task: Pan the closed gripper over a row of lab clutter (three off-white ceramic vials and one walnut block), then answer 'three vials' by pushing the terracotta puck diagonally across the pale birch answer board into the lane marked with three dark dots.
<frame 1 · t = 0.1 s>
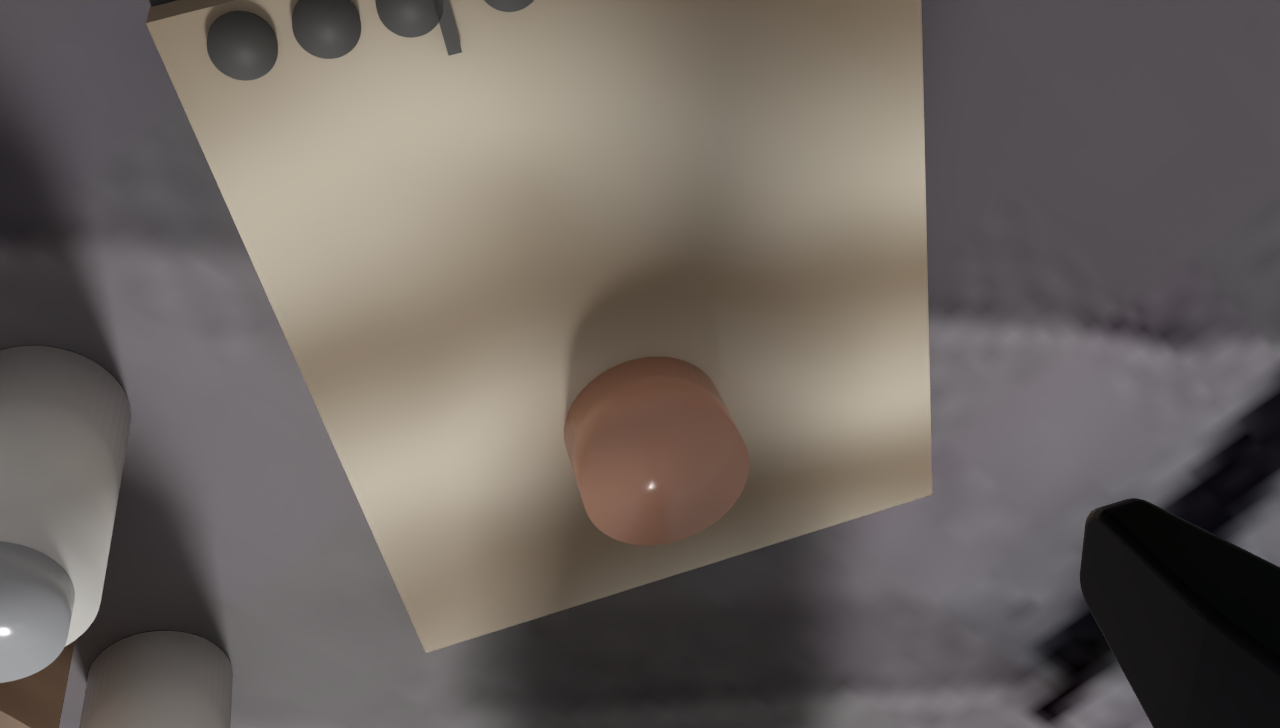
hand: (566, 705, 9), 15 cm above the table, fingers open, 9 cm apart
vial 1: (161, 678, 28), on the table
vial 2: (42, 413, 23), on the table
answer board: (619, 292, 25), on the table
puck: (643, 423, 26), point 1 cm above the table, touching answer board
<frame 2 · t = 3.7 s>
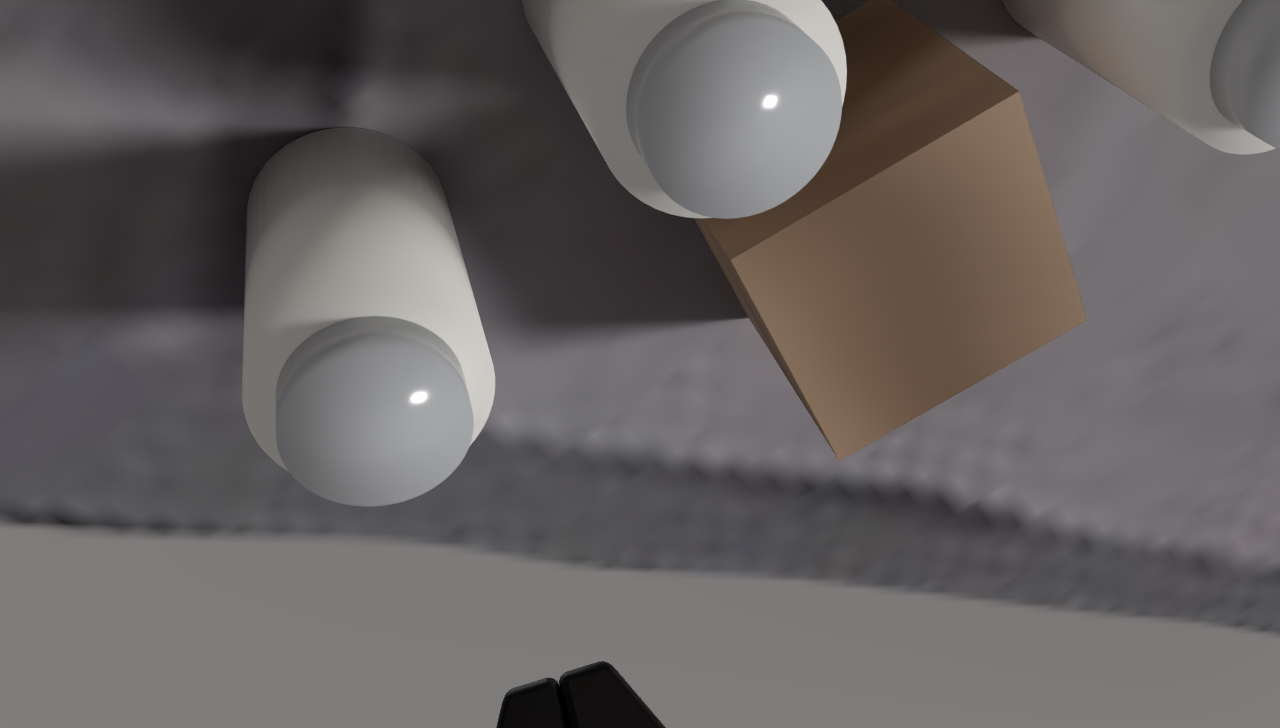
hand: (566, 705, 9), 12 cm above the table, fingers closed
vial 3: (349, 219, 19), on the table
walnut block: (808, 165, 21), on the table
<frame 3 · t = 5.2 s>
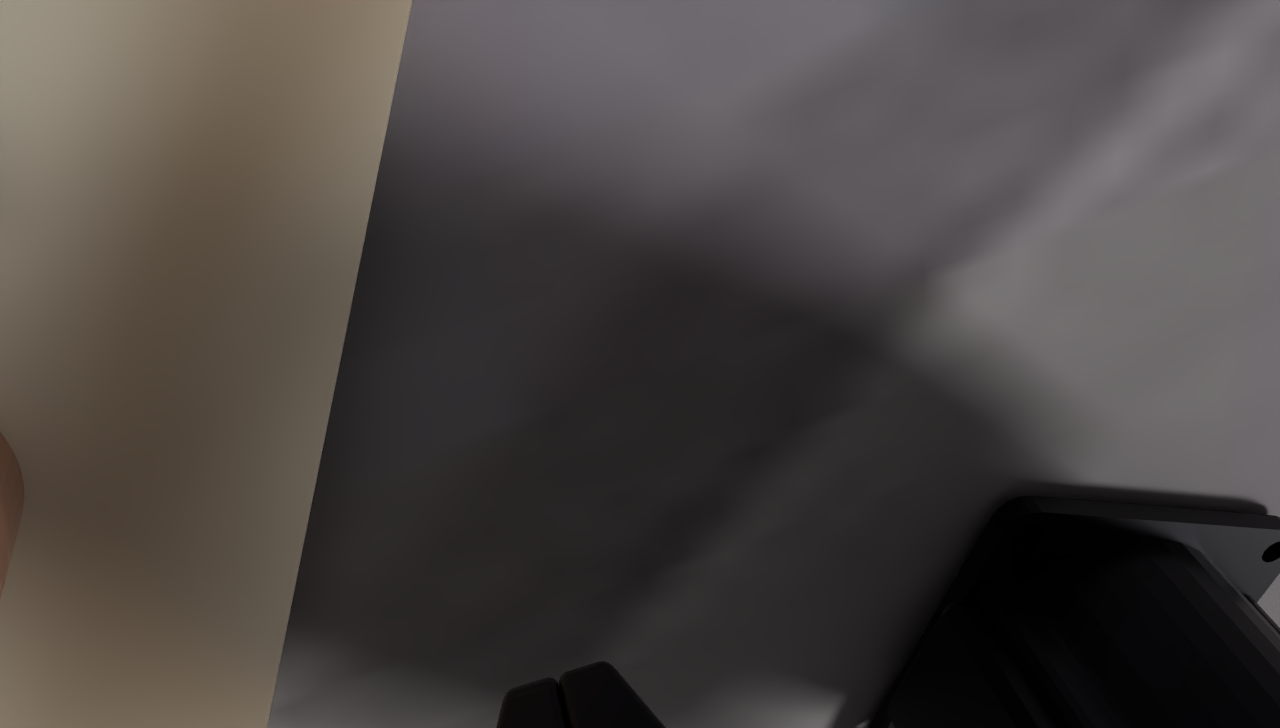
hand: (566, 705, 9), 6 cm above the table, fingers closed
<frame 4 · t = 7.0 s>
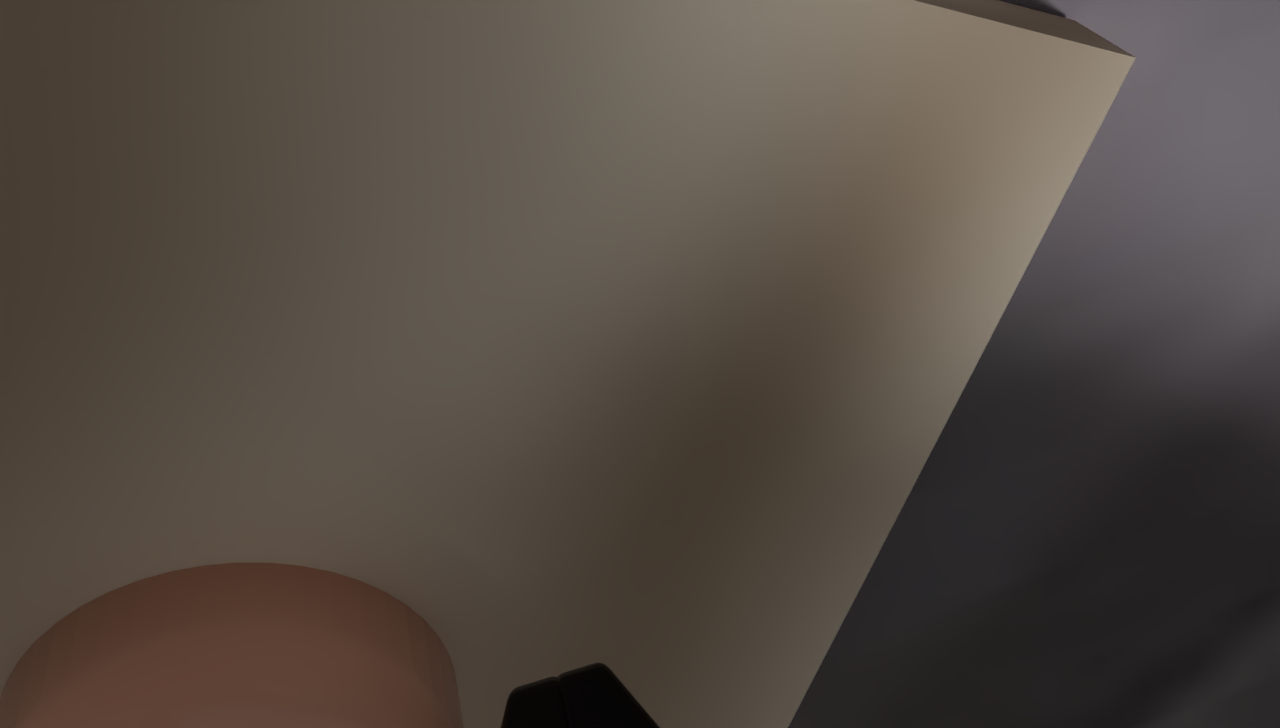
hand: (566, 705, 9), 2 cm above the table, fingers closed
puck: (239, 722, 10), point 1 cm above the table, touching gripper
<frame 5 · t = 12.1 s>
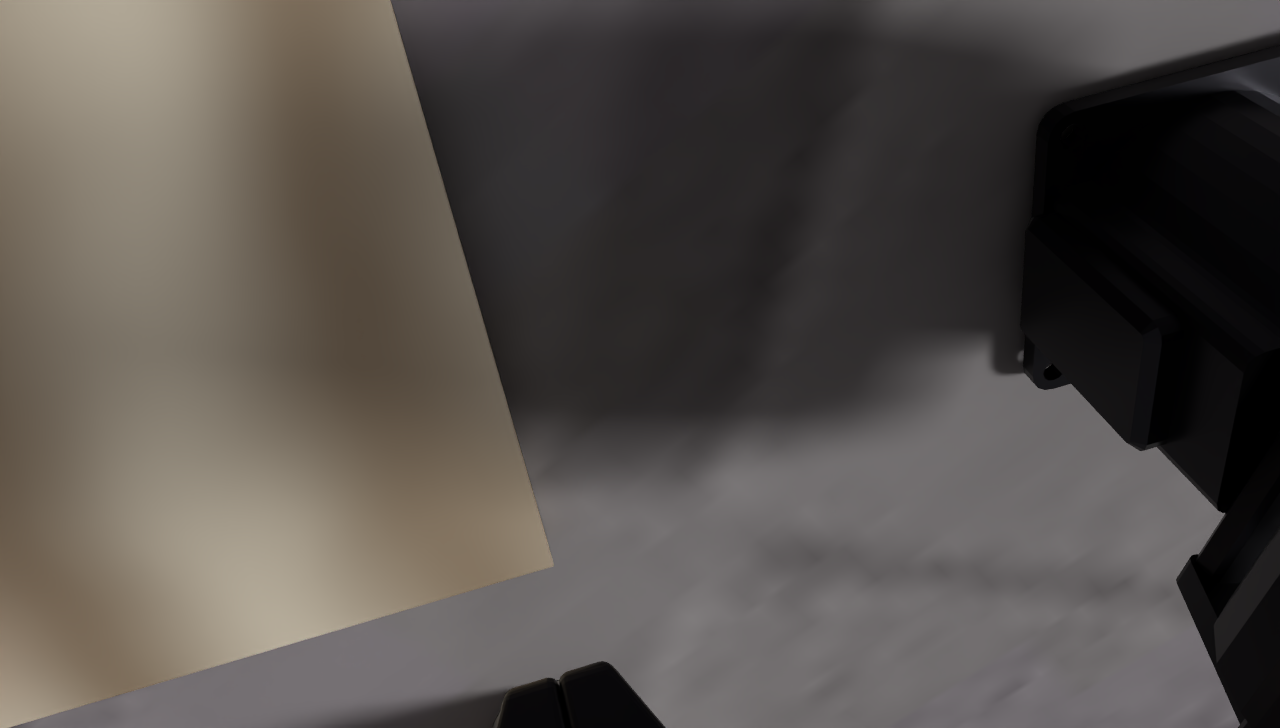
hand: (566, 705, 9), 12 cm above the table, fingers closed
answer board: (14, 404, 20), on the table
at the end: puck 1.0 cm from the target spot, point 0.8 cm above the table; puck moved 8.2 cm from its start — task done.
